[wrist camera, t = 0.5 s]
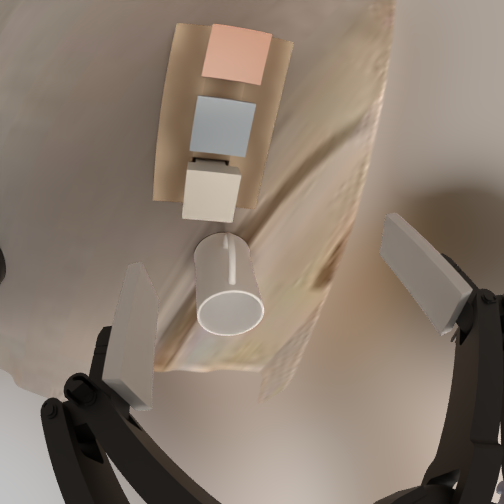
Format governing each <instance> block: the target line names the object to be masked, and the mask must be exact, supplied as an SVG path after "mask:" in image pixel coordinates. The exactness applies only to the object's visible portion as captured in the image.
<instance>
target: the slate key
mask: <svg viewBox="0 0 504 504" xmlns="http://www.w3.org/2000/svg"><path fill="white" fill-rule="evenodd" d="M255 108H256V104H255V103H252V102H247V101H241V100H235V99H228V98H221V97H214V96H205V95H198V98H197V104H196V110H195V116H194V122H193V129H192V135H191V142H190V150H189V151H196V152H206V153H215V154H224V155H232V156H239V157H245V155H246V150H247V146H248V141H249V136H250V131H251V126H252V122H253V117H254V112H255Z"/></svg>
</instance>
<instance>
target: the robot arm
mask: <svg viewBox="0 0 504 504" xmlns="http://www.w3.org/2000/svg"><path fill="white" fill-rule="evenodd" d="M379 254H380V256H381V257H382V258H383V259H384V261H385V262H386V263H387V264H388V265H389V267H390V268H391V269H392V270H393V272H394V273H395V274H396V276H397V277H398V278H399V279H400V281H401V282H402V283H403V285H404V286H405V287H406V288H407V290H408V291H409V292H410V294H411V295H412V296H413V298H414V299H415V301H416V302H417V303H418V305H419V306H420V307H421V309H422V310H423V312H424V313H425V314H426V316H427V317H428V319H429V320H430V321H431V323H432V324H433V326H434V327H435V329H436V330H437V332H438V333H439V334H440V336H441V335H443V334H445V333H447V332H449V331H451V330H452V328H453V326H454V324H455V323H457V324H458V326H459V327H458V328H457V330H456V332H455V334H454V335H453V337H452V339H451V342H453V340H454V339H455V337H456V341H455V343H456V349H455V360H454V370H453V379H452V385H451V392H450V398H449V403H448V409H447V414H446V418H445V423H444V427H443V431H442V435H441V439H440V443H439V447H438V450H437V454H436V457H435V459H434V461H433V462H432V463H431V464H430V466H429V467H428V469H427V471H426V473H425V475H424V478H423V481H422V484H421V486H417V487H414V488H410V489H406V490H402V491H398V492H396V493H394V494H392V495H390V496H387V497H385V498H383V499H381V500H378V501H377V502H375V503H374V504H496V503H493V502H491V500H492V497H493V494H494V491H495V487H496V484H497V480H498V476H499V472H500V468H501V466H502V475H503V481H501V482H500V483H499V484H498V486H497V489H496V491H497V493H498V494H501V497H500V500H499V502H498V504H504V294H503V295H496V296H495V295H494V293H492V292H491V291H489V290H487V289H478V287H477V286H476V285H475V284H474V283H473V282H472V281H471V279H469V277H468V276H467V275H466V274H465V273H464V272H463V271H462V270H461V269H460V268H459V266H457V264H456V263H454V261H453V260H452V259H451V258H449V257H448V256H446V255H444V254H440V253H439V252H438V251H437V250H436V249H434V247H433V246H432V245H431V244H430V243H429V242H428V241H427V240H426V239H425V238H423V237H422V236H421V235H420V234H419V233H418V232H417V231H416V230H415V229H414V228H413V227H412V226H411V225H409V224H408V223H407V222H406V221H405V220H404V219H403V218H402V217H401V216H400V215H398V214H397V213H391V214H386V216H385V223H384V230H383V236H382V242H381V248H380V253H379ZM4 277H5V262H4V258H3V255H2V252H1V250H0V284H1V282H2V281H3V279H4ZM158 309H159V298H158V296H157V294H156V292H155V289H154V287H153V285H152V283H151V281H150V278H149V276H148V274H147V272H146V269H145V267H144V265H143V262H137V263H132V264H129V265H128V268H127V272H126V275H125V279H124V282H123V286H122V289H121V293H120V297H119V301H118V304H117V308H116V312H115V317H114V321H113V325H112V326H107V327H103V329H102V330H101V332H100V333H99V335H98V337H97V341H96V348H95V350H94V356H93V359H92V364H91V369H90V374H89V377H88V376H87V375H86V374H84V373H76V374H74V375H72V376H71V377H70V378H69V379H68V380H67V381H66V384H65V386H64V395H65V397H66V398H67V399H68V400H69V401H66V402H63V403H62V402H61V401H59V400H58V399H57V398H49V399H48V400H46V401H45V402H44V404H43V405H42V408H41V420H42V426H43V430H44V435H45V440H46V444H47V448H48V452H49V456H50V459H51V463H52V466H53V470H54V473H55V476H56V479H57V482H58V485H59V488H60V491H61V493H62V496H63V499H64V501H65V504H130V503H129V501H128V499H127V497H126V496H125V494H124V492H123V490H122V488H121V486H120V484H119V482H118V480H117V478H116V475H115V473H114V471H113V469H112V467H111V464H110V463H109V460H108V457H107V455H108V456H109V458H110V459H111V460H112V462H113V463H114V464H115V466H116V467H117V468H118V470H119V471H120V472H121V473H122V475H123V476H124V477H125V478H126V480H127V481H128V482H129V484H130V485H131V486H132V487H133V488H134V489H135V491H136V492H137V493H138V494H139V495H140V496H141V497H142V498H143V500H144V501H145V502H146V503H147V504H221V503H220V502H219V501H217V500H216V499H215V498H214V497H212V496H211V495H210V494H208V493H207V492H206V491H205V490H204V489H203V488H202V487H200V486H199V485H198V484H197V483H196V482H194V480H192V479H191V478H190V477H189V476H188V475H187V474H186V473H185V472H184V471H183V470H182V469H181V468H179V467H178V465H176V464H175V463H174V462H173V461H172V460H171V459H170V458H169V457H168V456H167V454H166V453H165V452H164V451H163V450H162V449H161V448H160V447H159V446H158V445H157V444H156V443H155V442H154V441H153V439H152V438H151V437H150V436H149V435H148V434H147V433H146V432H145V430H144V429H143V428H142V427H141V426H140V424H139V423H138V422H137V421H136V420H135V418H134V417H133V416H132V415H131V414H130V413H129V409H130V406H131V407H132V408H134V409H135V410H152V391H153V389H152V388H153V369H154V353H155V340H156V329H157V318H158ZM500 424H501V445H500V444H499V443H498V433H499V426H500ZM105 452H106V453H107V455H106V453H105ZM456 482H458V483H457V486H456V489H452V488H453V486H454V484H455V483H456Z"/></svg>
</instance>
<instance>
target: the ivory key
mask: <svg viewBox="0 0 504 504" xmlns="http://www.w3.org/2000/svg"><path fill="white" fill-rule="evenodd" d="M240 180H241V173H240V171H239V168H238V167H233V166H226V164H225V161H219V160H210V159H200V158H196V162H188V166H187V174H186V182H185V192H184V202H183V212H182V219H193V220H206V221H218V222H230V223H232V222H233V217H234V211H235V206H236V201H237V196H238V191H239V185H240Z"/></svg>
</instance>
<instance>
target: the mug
mask: <svg viewBox="0 0 504 504" xmlns="http://www.w3.org/2000/svg"><path fill="white" fill-rule="evenodd" d="M194 263H195V266H196V303H197V319H198V322H199V324H200V325H201V326H202V327H203V328H204V329H205V330H207V331H208V332H210V333H213V334H216V335H222V336H232V335H238V334H242V333H244V332H247V331H249V330H251V329H252V328H254V327H255V326H256V325H257V324H258V323H259V322H260V321H261V319H262V317H263V314H264V306H263V302H262V298H261V295H260V291H259V288H258V284H257V281H256V277H255V274H254V270H253V267H252V263H251V259H250V250H249V247H248V245H247V243H246V242H245V241H244V240H243V239H242V238H240V237H239V236H237V235H234V234H232V233H229V232H228V233H216V234H213V235H210V236H208V237H206V238H205V239H203V240H202V241H201V242H200V243H199V244H198V246H197V247H196V249H195V252H194Z"/></svg>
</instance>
